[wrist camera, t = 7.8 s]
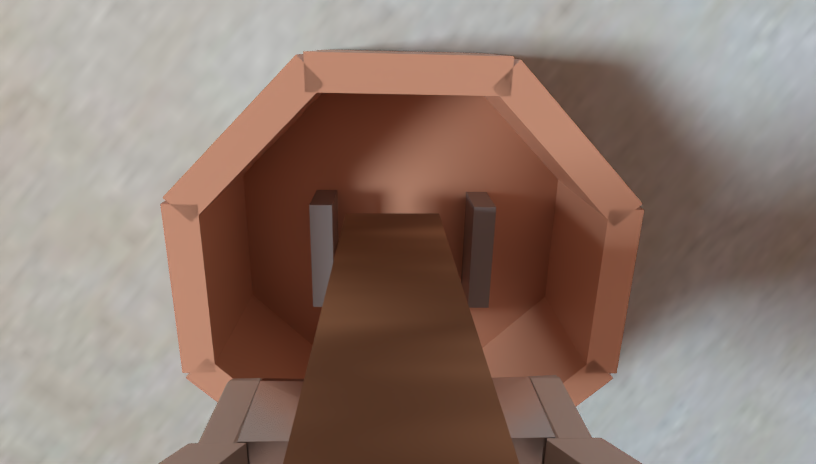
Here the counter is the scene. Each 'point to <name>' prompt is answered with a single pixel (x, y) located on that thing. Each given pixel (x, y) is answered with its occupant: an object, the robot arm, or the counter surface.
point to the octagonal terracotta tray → (403, 193)
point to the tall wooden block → (397, 356)
